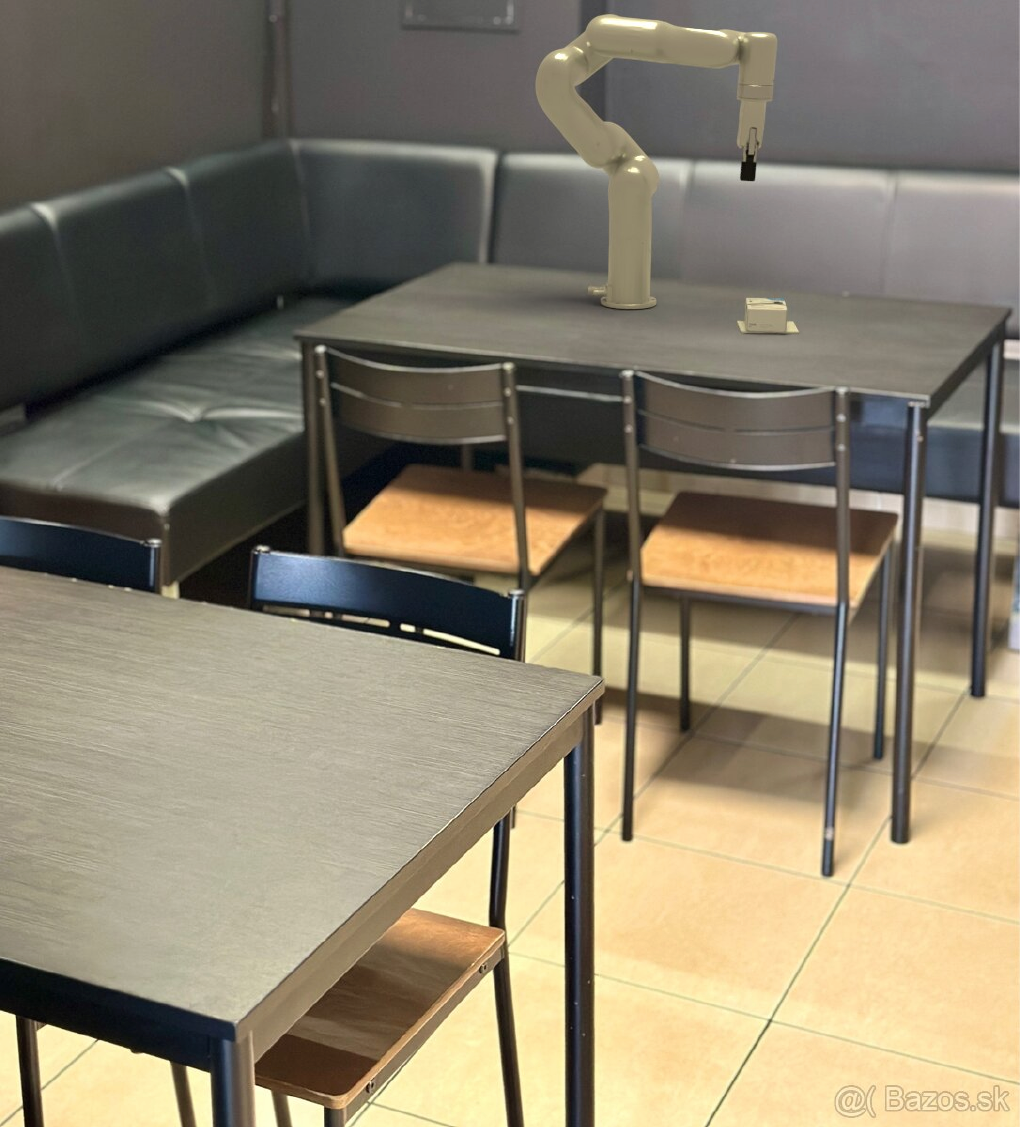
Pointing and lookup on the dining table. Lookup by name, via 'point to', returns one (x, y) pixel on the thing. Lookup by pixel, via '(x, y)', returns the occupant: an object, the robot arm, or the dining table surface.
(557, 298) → the dining table surface
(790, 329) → the mat
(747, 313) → the ink box
